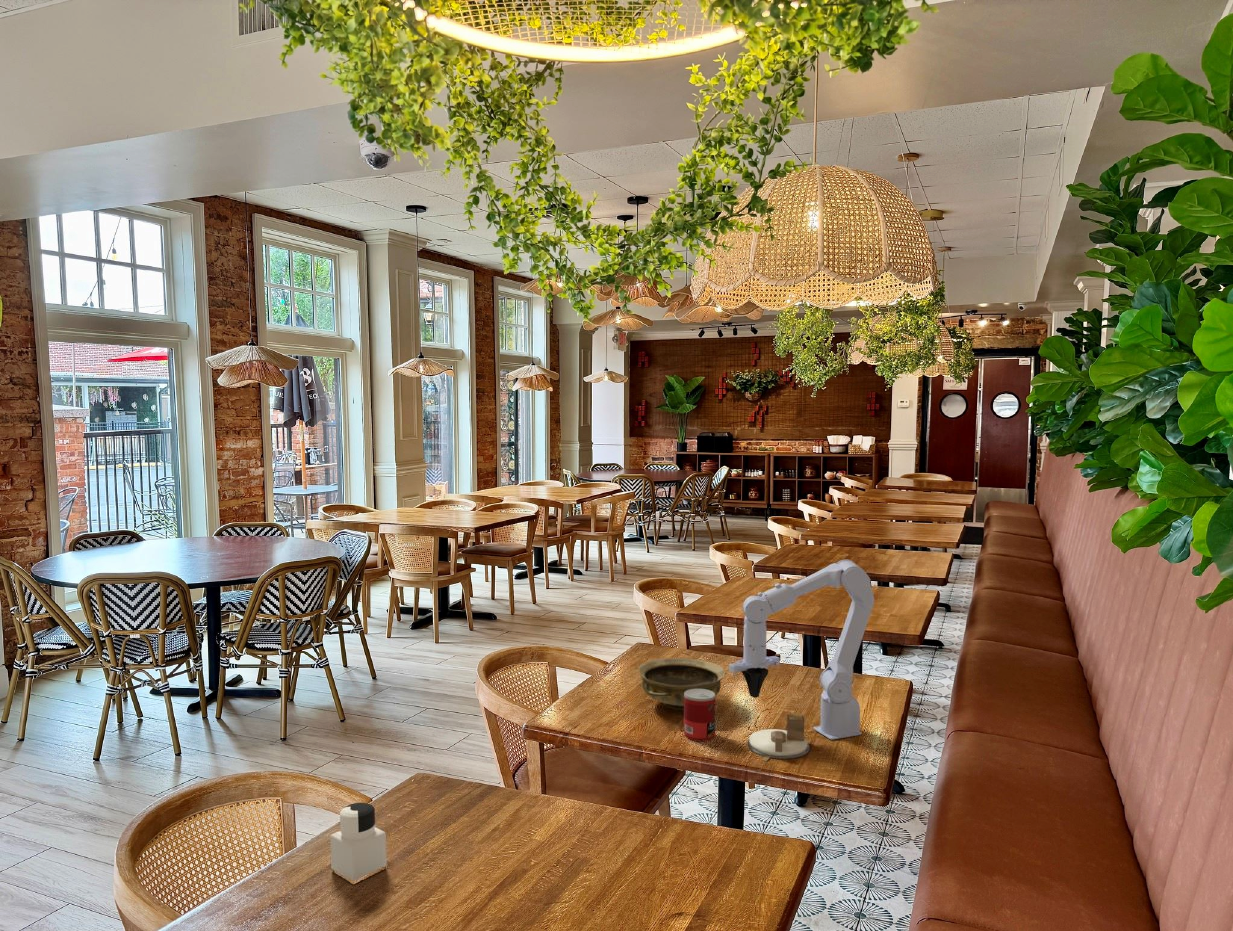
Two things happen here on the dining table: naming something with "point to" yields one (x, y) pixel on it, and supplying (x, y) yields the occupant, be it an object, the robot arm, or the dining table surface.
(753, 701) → the dining table surface
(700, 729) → the canned food
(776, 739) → the turntable
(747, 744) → the bearing plate
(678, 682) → the ceramic bowl
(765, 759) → the index mark
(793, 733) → the walnut block
